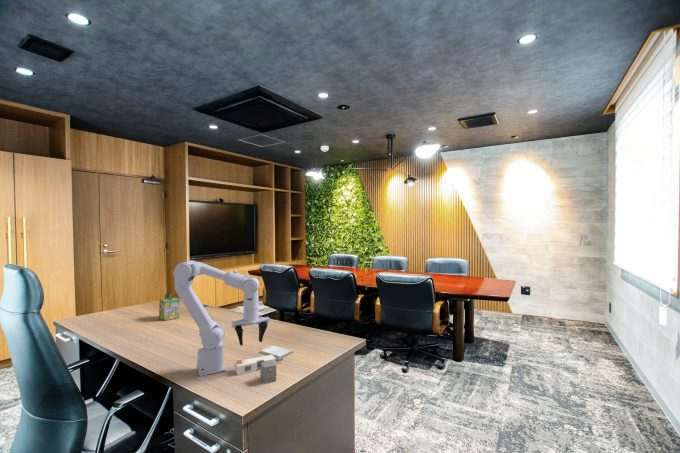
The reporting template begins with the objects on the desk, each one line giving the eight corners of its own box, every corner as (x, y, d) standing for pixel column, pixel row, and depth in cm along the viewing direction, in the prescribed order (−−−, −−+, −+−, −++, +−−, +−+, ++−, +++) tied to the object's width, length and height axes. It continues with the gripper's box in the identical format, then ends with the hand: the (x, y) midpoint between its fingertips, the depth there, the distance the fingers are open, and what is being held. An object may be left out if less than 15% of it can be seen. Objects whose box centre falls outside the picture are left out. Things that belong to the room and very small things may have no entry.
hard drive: (293, 350, 146) (273, 344, 153) (280, 356, 139) (260, 350, 146) (293, 354, 146) (273, 348, 153) (280, 360, 139) (260, 353, 146)
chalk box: (158, 318, 202) (158, 294, 202) (174, 315, 208) (175, 292, 208) (163, 321, 195) (163, 296, 195) (179, 318, 201) (179, 294, 201)
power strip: (237, 375, 123) (237, 364, 123) (234, 370, 128) (234, 360, 128) (285, 364, 133) (285, 355, 133) (281, 360, 137) (281, 351, 137)
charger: (264, 383, 116) (264, 367, 116) (259, 375, 122) (259, 361, 122) (276, 380, 118) (276, 365, 118) (270, 373, 124) (270, 358, 124)
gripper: (234, 313, 122) (234, 349, 122) (272, 308, 130) (271, 342, 130) (230, 309, 129) (230, 343, 128) (266, 304, 136) (266, 337, 136)
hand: (250, 343), depth 129 cm, fingers open, 7 cm apart
